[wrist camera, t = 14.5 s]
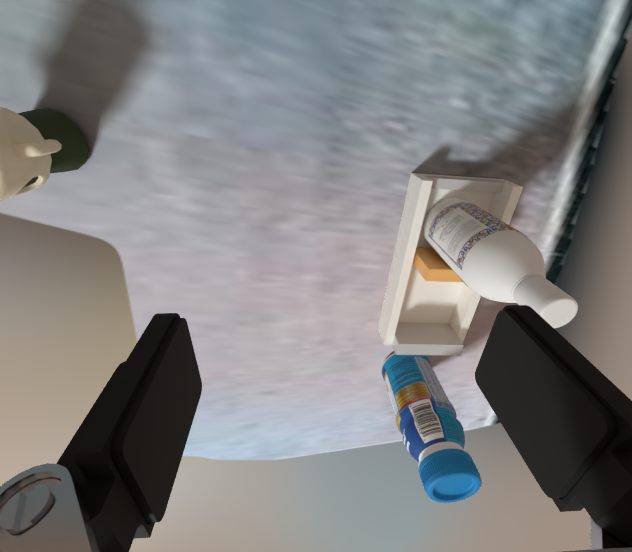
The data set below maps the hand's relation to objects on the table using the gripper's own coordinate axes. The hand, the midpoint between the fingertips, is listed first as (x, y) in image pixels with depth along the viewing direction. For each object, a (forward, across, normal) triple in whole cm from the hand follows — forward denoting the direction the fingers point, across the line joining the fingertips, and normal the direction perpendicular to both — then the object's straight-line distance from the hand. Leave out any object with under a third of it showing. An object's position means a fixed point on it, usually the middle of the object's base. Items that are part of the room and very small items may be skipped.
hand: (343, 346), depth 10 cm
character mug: (+32, +27, -1) cm, 42 cm away
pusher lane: (+32, -18, +14) cm, 39 cm away
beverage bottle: (+31, -17, +34) cm, 49 cm away
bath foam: (+31, -18, +8) cm, 37 cm away
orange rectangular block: (+30, -18, +12) cm, 37 cm away
